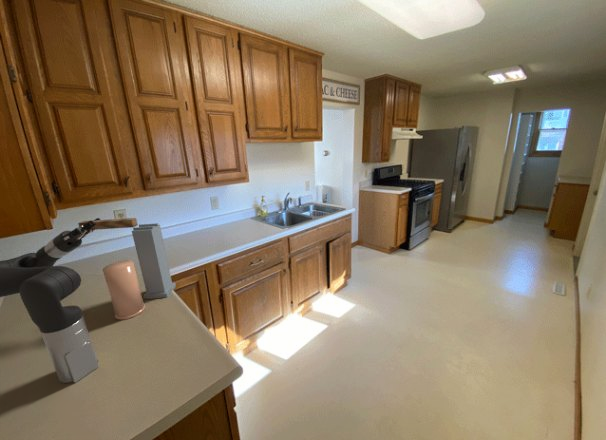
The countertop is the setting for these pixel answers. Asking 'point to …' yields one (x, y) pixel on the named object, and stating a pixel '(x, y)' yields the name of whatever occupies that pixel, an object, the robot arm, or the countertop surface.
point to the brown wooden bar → (112, 223)
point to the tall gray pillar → (153, 260)
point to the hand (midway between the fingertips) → (96, 221)
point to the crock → (124, 289)
